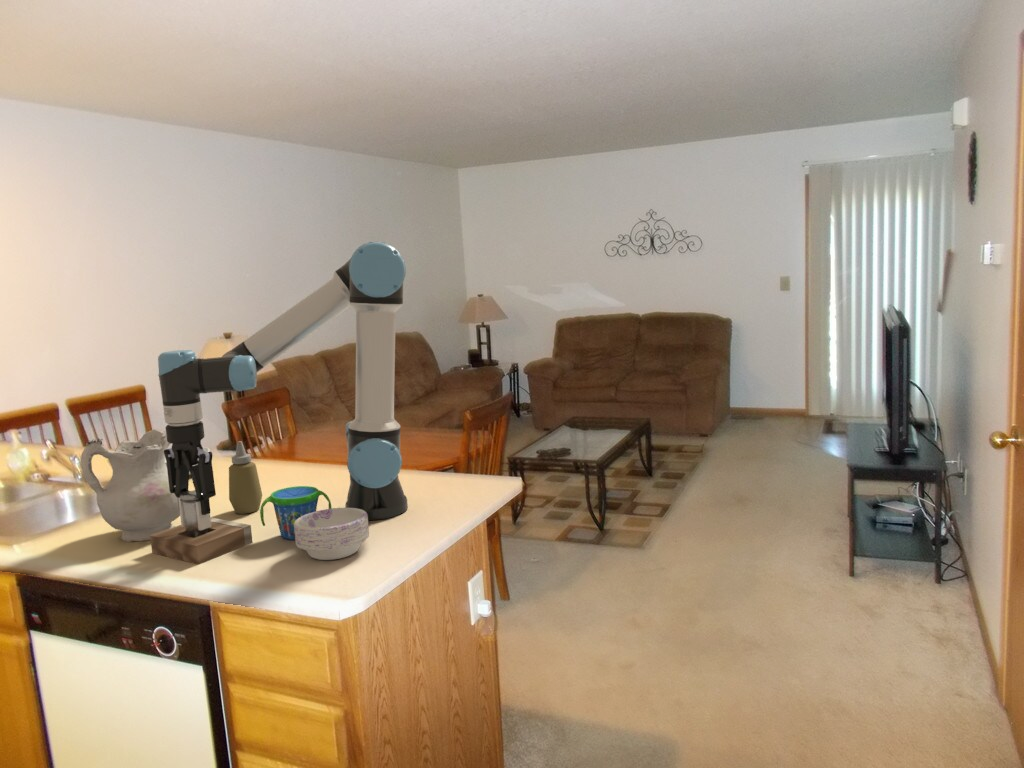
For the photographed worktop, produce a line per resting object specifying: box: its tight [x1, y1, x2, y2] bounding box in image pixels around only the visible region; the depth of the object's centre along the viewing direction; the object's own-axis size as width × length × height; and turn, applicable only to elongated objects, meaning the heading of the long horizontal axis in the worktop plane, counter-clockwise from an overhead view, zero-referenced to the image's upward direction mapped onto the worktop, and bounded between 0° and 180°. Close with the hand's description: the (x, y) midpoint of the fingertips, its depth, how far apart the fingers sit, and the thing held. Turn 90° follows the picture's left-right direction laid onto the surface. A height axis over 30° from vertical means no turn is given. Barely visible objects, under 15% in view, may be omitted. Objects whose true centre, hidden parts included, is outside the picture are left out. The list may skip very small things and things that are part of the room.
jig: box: [149, 516, 253, 565], centre depth 175 cm, size 16×14×4 cm
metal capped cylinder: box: [180, 489, 208, 538], centre depth 173 cm, size 5×5×11 cm
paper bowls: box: [294, 507, 370, 561], centre depth 167 cm, size 15×15×8 cm
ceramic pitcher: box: [80, 428, 180, 543], centre depth 185 cm, size 22×20×25 cm
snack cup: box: [259, 485, 333, 541], centre depth 179 cm, size 16×10×10 cm
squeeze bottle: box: [228, 440, 263, 515], centre depth 200 cm, size 8×8×18 cm
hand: (196, 526), depth 173 cm, fingers closed on metal capped cylinder, 5 cm apart
